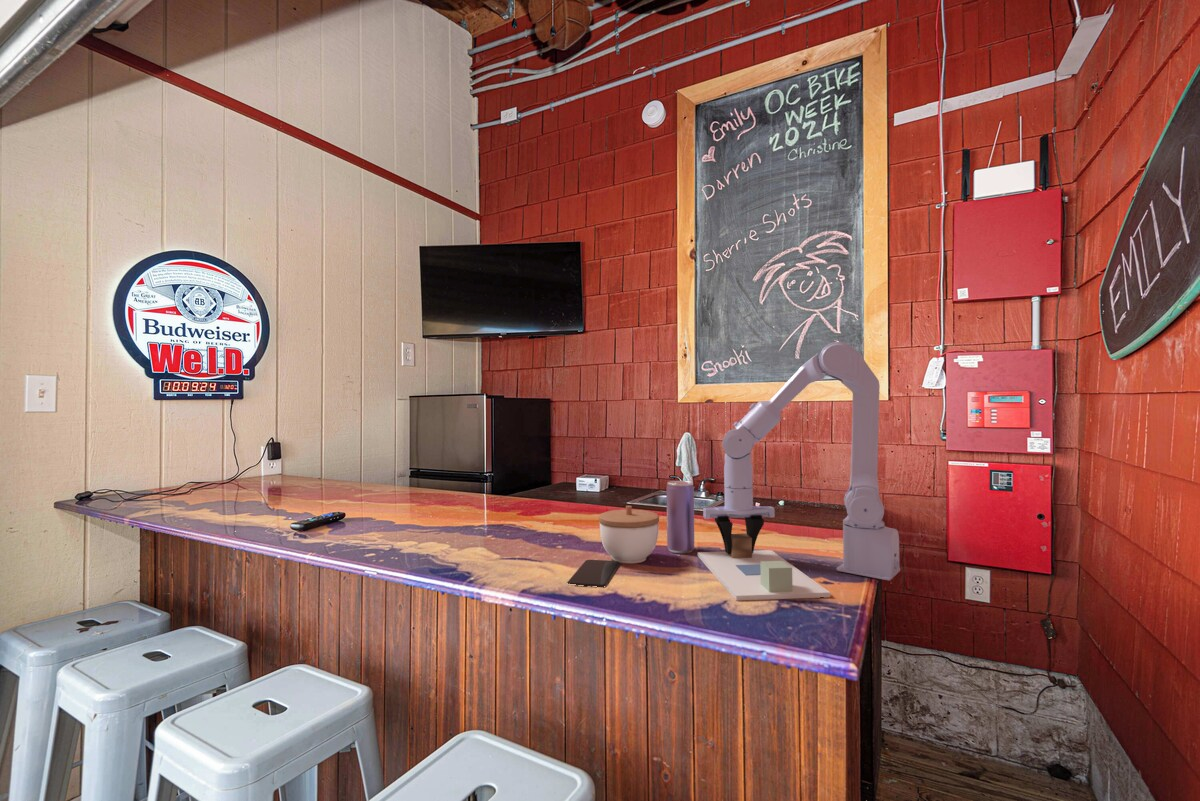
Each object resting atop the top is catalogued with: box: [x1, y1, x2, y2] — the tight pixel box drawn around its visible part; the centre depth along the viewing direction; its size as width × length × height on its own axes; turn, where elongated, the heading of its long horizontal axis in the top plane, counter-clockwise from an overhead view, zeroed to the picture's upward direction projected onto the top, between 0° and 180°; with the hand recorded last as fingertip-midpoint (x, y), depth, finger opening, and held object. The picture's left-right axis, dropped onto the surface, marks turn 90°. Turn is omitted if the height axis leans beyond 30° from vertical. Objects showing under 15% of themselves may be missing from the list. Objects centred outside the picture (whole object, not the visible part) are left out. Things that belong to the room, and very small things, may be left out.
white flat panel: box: [697, 549, 831, 601], centre depth 104 cm, size 16×26×1 cm, turn 4°
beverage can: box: [666, 480, 695, 555], centre depth 121 cm, size 6×6×15 cm
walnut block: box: [729, 532, 752, 558], centre depth 114 cm, size 4×4×4 cm
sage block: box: [760, 561, 792, 592], centre depth 94 cm, size 4×4×4 cm
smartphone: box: [566, 559, 621, 588], centre depth 105 cm, size 7×1×15 cm
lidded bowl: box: [598, 505, 660, 565], centre depth 115 cm, size 13×13×11 cm
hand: (739, 552), depth 114 cm, fingers closed on walnut block, 4 cm apart
